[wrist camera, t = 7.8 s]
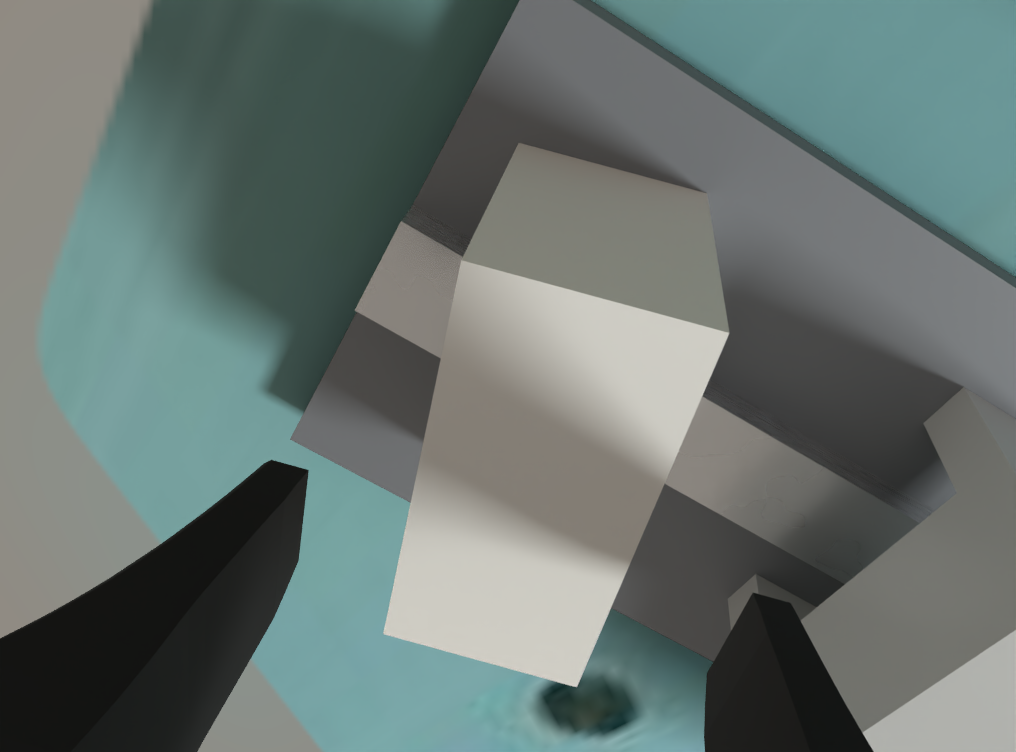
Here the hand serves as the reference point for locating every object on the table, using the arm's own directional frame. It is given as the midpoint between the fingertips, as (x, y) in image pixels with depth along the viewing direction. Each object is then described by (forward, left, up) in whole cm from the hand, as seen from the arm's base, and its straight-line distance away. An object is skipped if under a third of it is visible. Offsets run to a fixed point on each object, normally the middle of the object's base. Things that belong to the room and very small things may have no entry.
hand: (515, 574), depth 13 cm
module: (0, 0, -7) cm, 7 cm away
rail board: (-4, 0, -9) cm, 9 cm away
